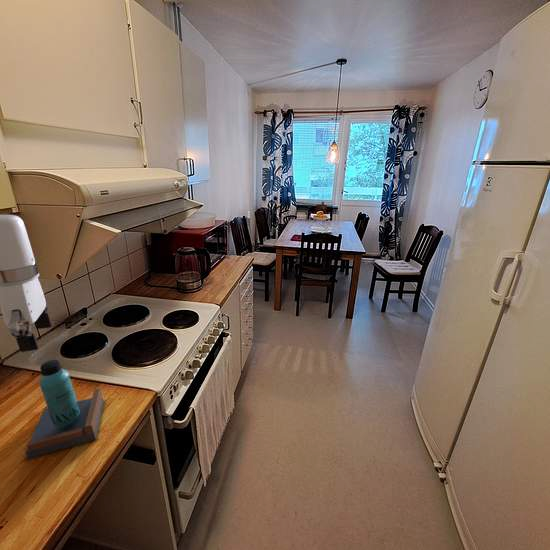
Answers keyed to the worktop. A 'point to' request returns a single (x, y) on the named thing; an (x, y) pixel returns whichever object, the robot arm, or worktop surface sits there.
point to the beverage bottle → (59, 394)
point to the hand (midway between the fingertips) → (37, 338)
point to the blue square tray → (67, 428)
